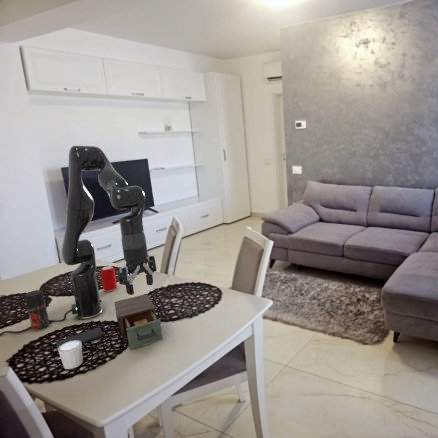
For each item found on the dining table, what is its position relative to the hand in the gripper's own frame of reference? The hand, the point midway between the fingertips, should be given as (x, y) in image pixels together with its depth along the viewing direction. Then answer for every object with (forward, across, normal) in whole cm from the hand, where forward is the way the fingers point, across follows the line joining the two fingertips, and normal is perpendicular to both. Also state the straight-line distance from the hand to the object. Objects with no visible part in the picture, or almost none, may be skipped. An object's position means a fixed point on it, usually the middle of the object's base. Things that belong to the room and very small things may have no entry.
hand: (140, 289), depth 126 cm
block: (+20, -4, -6) cm, 22 cm away
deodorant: (+22, +5, -54) cm, 59 cm away
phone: (+22, +6, -28) cm, 36 cm away
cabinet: (+22, -10, -16) cm, 29 cm away
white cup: (+22, +17, -17) cm, 33 cm away
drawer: (+21, -3, -5) cm, 22 cm away
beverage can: (+22, -32, -58) cm, 70 cm away
